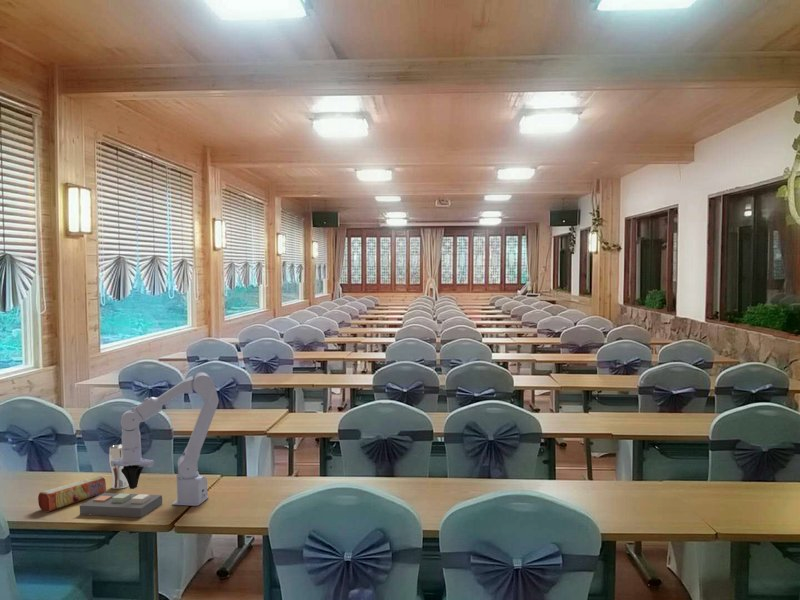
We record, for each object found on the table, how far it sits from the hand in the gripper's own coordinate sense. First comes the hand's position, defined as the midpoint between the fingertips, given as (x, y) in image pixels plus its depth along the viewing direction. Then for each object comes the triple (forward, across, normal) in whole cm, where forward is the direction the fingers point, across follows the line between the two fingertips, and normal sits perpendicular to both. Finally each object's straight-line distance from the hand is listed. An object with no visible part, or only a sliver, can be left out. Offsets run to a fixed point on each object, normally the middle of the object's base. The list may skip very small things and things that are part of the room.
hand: (133, 487), depth 198 cm
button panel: (+7, -4, 0) cm, 8 cm away
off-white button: (+6, +3, 0) cm, 6 cm away
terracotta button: (+7, -11, 0) cm, 13 cm away
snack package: (+8, -27, +5) cm, 28 cm away
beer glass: (+7, -20, +21) cm, 30 cm away
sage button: (+6, -4, 0) cm, 7 cm away
